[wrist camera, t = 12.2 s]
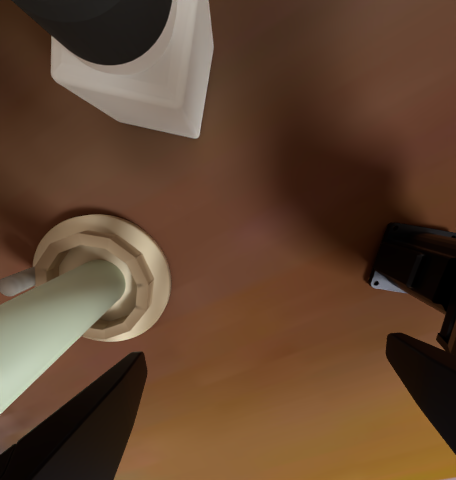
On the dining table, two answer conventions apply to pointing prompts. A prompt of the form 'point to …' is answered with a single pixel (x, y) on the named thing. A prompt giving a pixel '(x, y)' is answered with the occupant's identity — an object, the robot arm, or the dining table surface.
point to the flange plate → (112, 250)
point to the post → (52, 322)
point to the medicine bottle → (132, 57)
